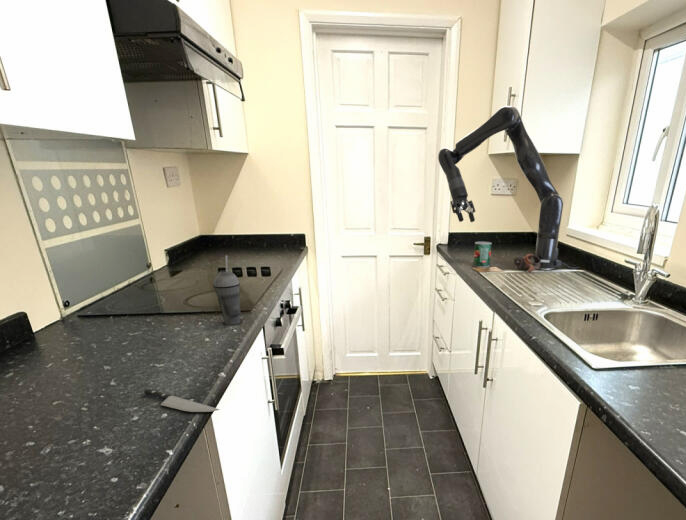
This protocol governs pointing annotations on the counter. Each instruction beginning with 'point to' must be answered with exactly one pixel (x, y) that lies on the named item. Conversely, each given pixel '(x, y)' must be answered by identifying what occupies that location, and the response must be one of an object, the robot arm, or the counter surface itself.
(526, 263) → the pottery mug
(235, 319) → the beverage cup
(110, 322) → the counter surface
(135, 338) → the counter surface
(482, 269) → the trivet
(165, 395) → the chef's knife
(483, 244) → the canned tomato
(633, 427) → the counter surface
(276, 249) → the counter surface
